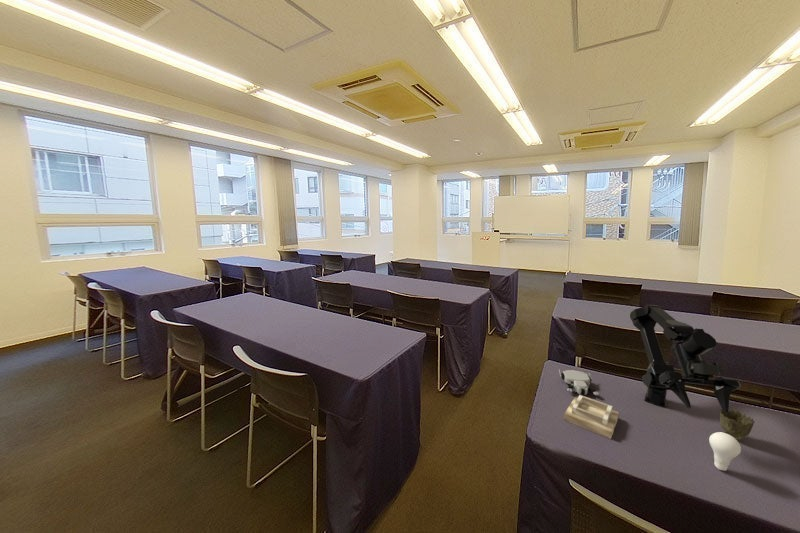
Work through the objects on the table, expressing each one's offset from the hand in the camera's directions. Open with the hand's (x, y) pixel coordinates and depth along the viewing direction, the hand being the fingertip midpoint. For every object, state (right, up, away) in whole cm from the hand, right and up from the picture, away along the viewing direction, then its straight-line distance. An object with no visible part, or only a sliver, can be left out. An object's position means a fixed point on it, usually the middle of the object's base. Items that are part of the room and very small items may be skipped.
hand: (707, 410), depth 92 cm
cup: (+15, -13, +7) cm, 21 cm away
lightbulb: (-2, -15, -5) cm, 16 cm away
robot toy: (-18, -8, +37) cm, 42 cm away
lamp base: (-25, -11, +16) cm, 32 cm away
